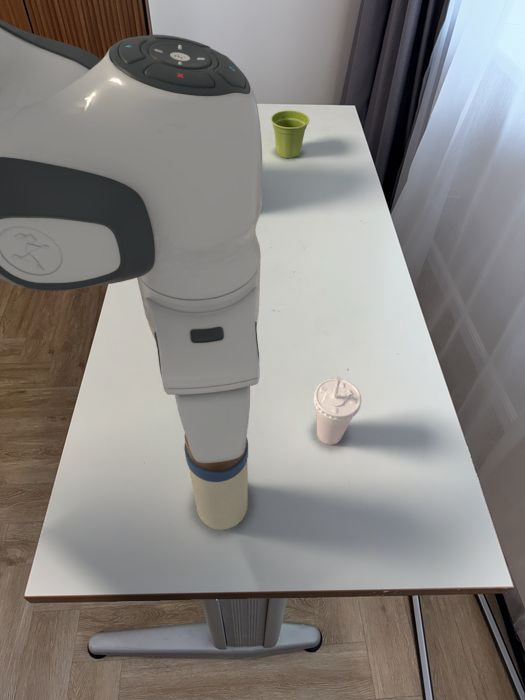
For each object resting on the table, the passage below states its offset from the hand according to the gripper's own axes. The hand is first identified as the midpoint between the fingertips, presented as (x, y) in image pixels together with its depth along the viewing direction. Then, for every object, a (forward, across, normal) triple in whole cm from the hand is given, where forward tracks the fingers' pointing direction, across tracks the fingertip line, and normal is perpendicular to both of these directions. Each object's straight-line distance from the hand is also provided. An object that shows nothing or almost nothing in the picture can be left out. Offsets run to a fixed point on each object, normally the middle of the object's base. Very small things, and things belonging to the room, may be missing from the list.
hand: (210, 394), depth 48 cm
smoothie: (+26, -8, +17) cm, 32 cm away
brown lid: (+10, 0, 0) cm, 10 cm away
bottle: (+26, 0, 0) cm, 26 cm away
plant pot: (+26, -90, +27) cm, 98 cm away
